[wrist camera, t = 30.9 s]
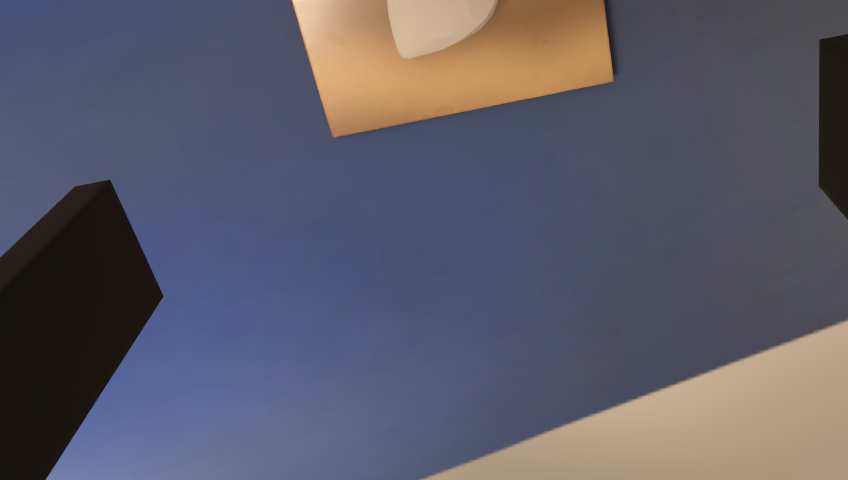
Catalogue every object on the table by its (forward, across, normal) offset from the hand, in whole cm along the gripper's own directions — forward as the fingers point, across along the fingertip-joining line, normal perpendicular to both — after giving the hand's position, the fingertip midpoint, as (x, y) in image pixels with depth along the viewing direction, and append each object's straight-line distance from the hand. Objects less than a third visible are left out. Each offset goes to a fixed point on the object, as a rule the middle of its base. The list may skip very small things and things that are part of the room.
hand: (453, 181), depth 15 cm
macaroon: (+18, -1, 0) cm, 18 cm away
